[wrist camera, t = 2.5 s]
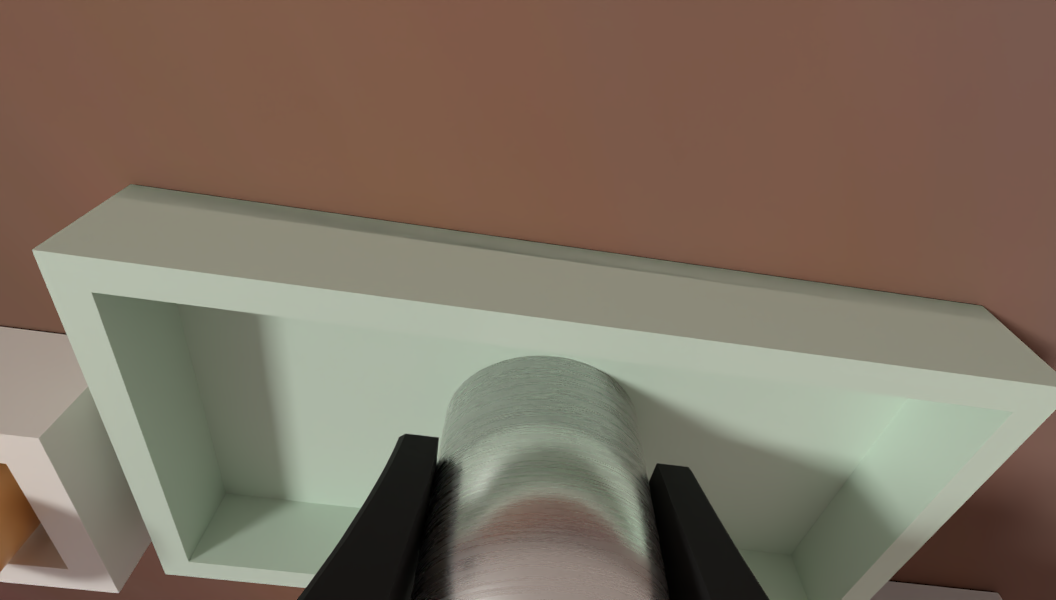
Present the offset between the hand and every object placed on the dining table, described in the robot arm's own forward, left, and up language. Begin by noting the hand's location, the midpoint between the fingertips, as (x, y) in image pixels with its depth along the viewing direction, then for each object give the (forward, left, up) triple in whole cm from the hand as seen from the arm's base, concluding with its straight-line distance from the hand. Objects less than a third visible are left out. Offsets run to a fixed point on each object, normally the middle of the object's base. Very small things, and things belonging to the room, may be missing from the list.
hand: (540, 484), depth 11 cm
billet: (0, 0, -1) cm, 1 cm away
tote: (0, 0, -2) cm, 2 cm away
